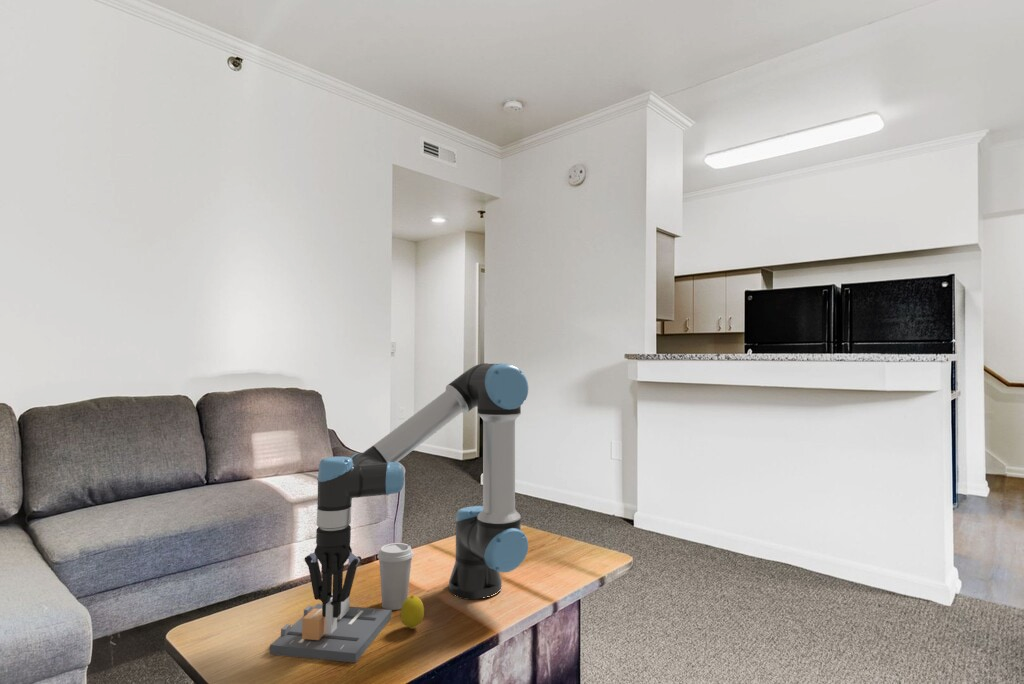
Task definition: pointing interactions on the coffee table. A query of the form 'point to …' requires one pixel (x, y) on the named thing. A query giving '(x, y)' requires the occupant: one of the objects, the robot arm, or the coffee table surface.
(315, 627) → the fader orange
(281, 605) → the coffee table surface
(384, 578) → the coffee cup
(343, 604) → the fader grey
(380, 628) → the console
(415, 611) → the lemon
